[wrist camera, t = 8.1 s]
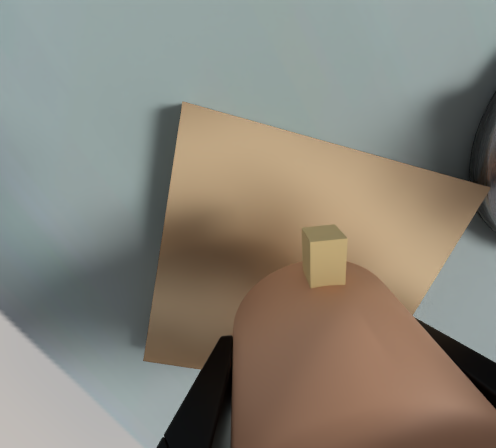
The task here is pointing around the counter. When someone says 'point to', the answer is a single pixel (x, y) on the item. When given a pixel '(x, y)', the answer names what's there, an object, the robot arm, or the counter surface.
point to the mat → (286, 223)
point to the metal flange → (486, 163)
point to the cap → (344, 364)
